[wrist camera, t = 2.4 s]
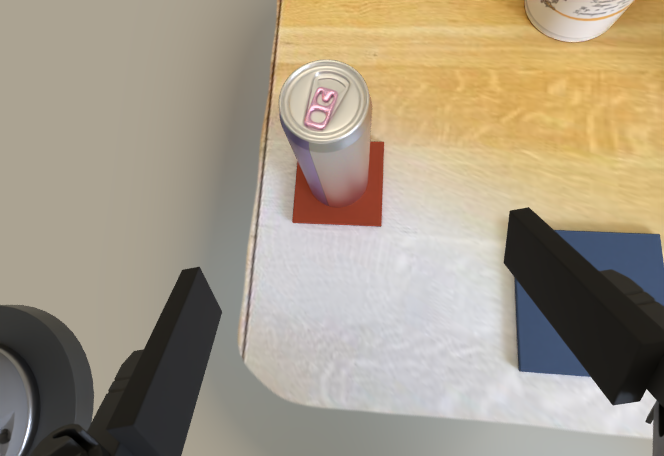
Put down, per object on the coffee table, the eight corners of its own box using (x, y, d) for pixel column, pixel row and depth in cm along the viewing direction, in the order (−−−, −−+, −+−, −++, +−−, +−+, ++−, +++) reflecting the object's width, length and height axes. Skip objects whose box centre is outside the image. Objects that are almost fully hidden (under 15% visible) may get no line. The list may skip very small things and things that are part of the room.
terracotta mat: (381, 226, 35) (381, 225, 34) (293, 222, 36) (292, 222, 35) (383, 143, 37) (383, 141, 36) (299, 141, 37) (299, 140, 37)
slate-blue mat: (675, 382, 30) (679, 383, 30) (518, 370, 31) (520, 371, 31) (656, 234, 33) (660, 234, 32) (512, 229, 34) (514, 228, 33)
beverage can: (301, 198, 36) (260, 128, 21) (321, 147, 37) (295, 46, 22) (356, 216, 35) (353, 157, 20) (375, 163, 36) (385, 69, 21)
